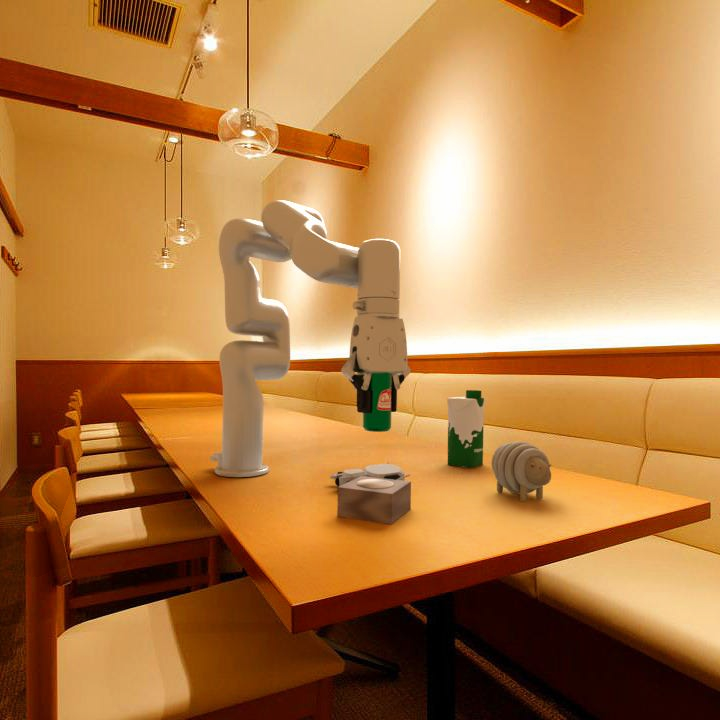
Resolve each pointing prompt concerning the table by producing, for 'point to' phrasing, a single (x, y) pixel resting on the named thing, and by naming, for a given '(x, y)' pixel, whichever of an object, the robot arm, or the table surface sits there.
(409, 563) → the table surface
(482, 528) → the table surface
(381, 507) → the base brick
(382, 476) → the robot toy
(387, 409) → the soda can
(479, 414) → the milk carton
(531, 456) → the toy sheep
